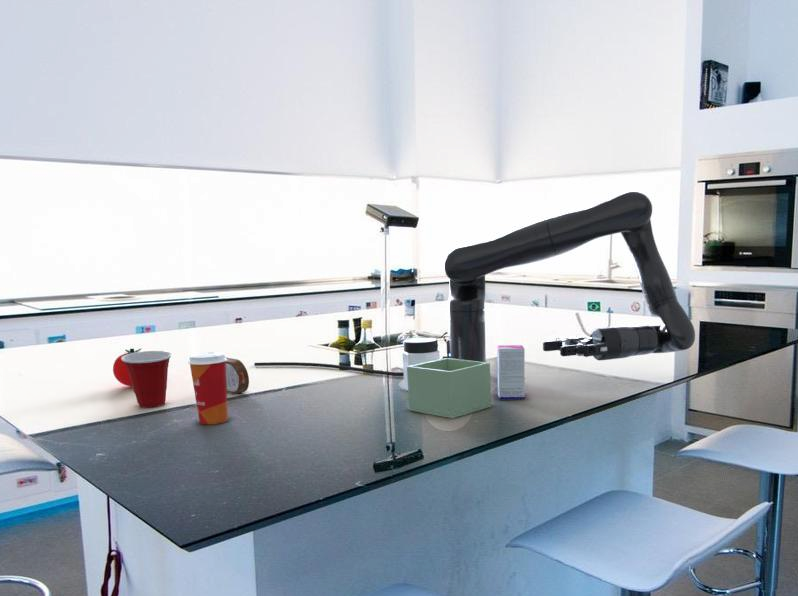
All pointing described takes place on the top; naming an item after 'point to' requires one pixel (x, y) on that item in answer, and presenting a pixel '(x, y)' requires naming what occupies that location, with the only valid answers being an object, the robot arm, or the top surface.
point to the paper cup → (210, 386)
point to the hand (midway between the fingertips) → (552, 349)
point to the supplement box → (510, 372)
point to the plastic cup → (148, 376)
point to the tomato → (122, 369)
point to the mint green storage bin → (449, 387)
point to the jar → (418, 353)
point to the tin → (236, 376)
